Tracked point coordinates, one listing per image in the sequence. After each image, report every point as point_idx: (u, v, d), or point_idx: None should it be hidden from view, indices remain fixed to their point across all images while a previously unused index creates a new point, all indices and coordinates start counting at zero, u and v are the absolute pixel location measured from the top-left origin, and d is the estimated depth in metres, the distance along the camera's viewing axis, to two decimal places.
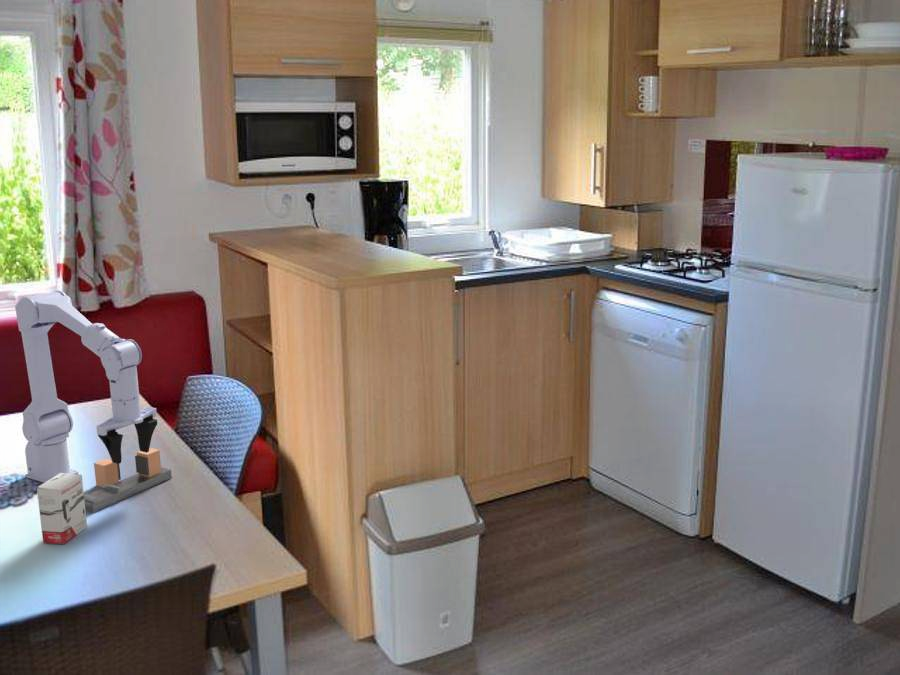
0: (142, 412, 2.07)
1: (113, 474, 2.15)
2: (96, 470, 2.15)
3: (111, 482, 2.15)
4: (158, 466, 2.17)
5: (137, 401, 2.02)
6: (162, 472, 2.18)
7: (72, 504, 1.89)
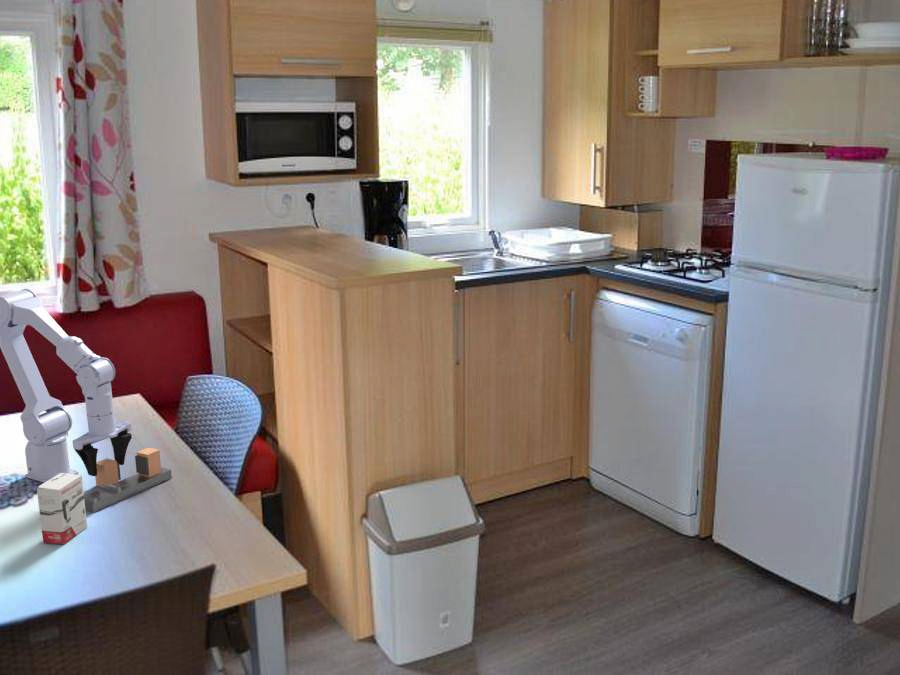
0: (117, 427, 2.17)
1: (113, 474, 2.15)
2: None
3: (111, 482, 2.15)
4: (158, 466, 2.17)
5: (111, 416, 2.12)
6: (162, 472, 2.18)
7: (72, 504, 1.89)
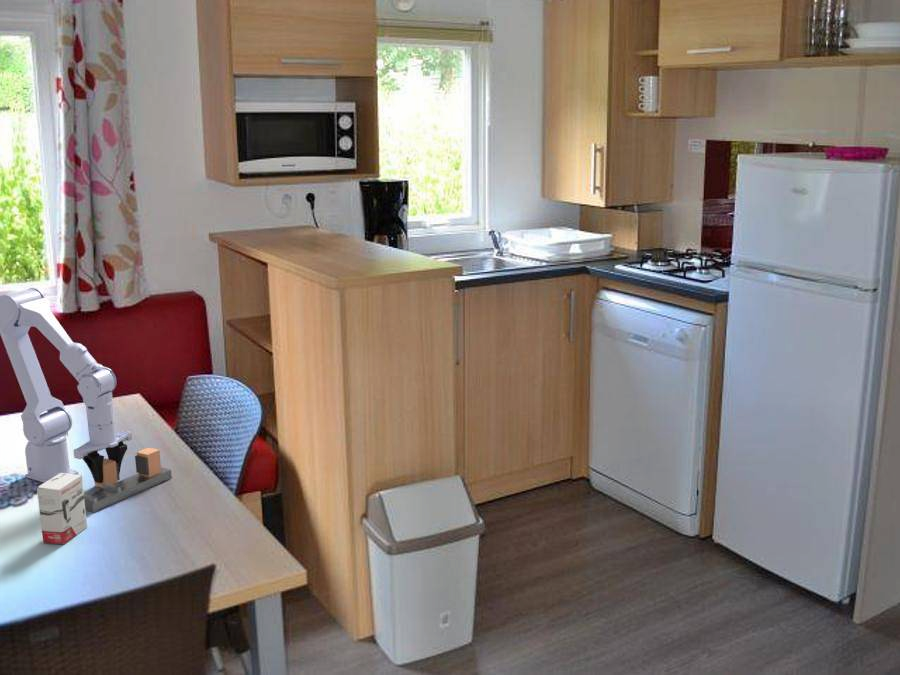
0: (118, 436, 2.17)
1: (112, 474, 2.15)
2: None
3: (110, 482, 2.15)
4: (158, 466, 2.17)
5: (112, 426, 2.12)
6: (162, 472, 2.18)
7: (72, 504, 1.89)
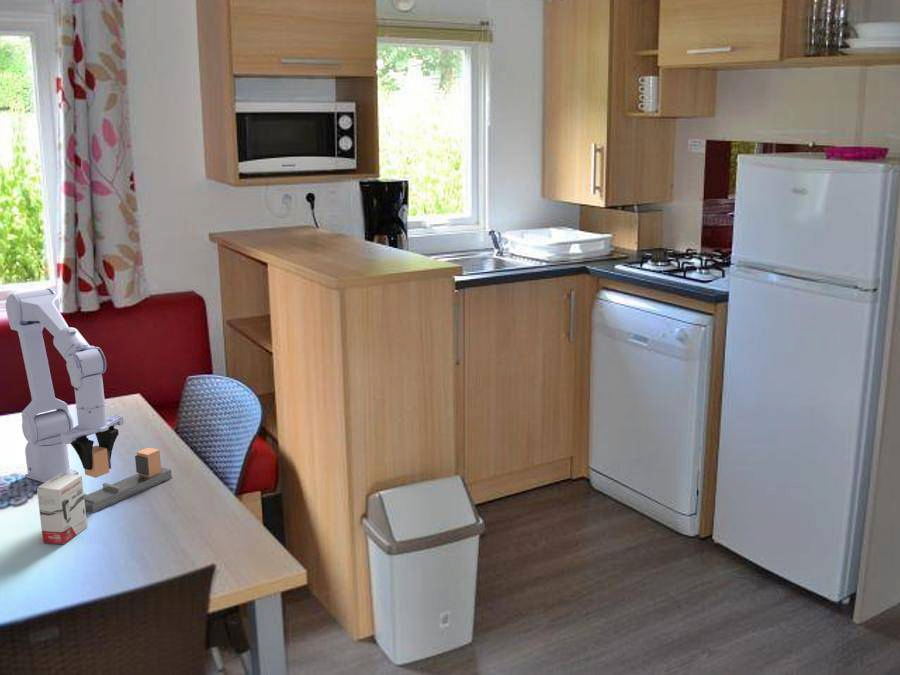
0: (108, 420, 2.05)
1: (103, 462, 2.03)
2: None
3: (101, 471, 2.03)
4: (158, 466, 2.17)
5: (102, 409, 2.00)
6: (162, 472, 2.18)
7: (72, 504, 1.89)
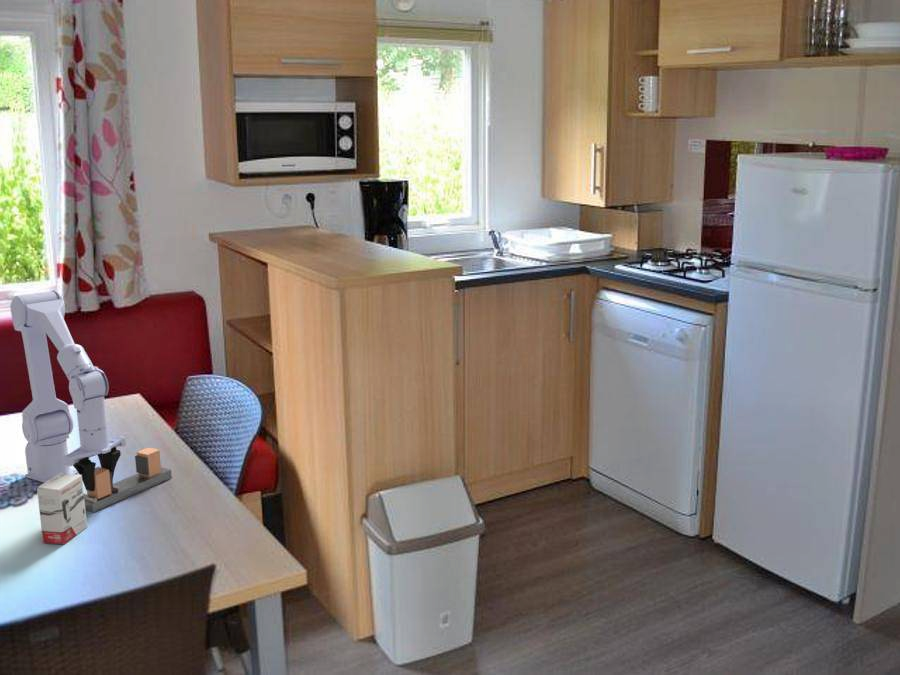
0: (110, 441, 2.06)
1: (105, 484, 2.04)
2: None
3: (103, 492, 2.04)
4: (158, 466, 2.17)
5: (105, 431, 2.01)
6: (162, 472, 2.18)
7: (72, 504, 1.89)
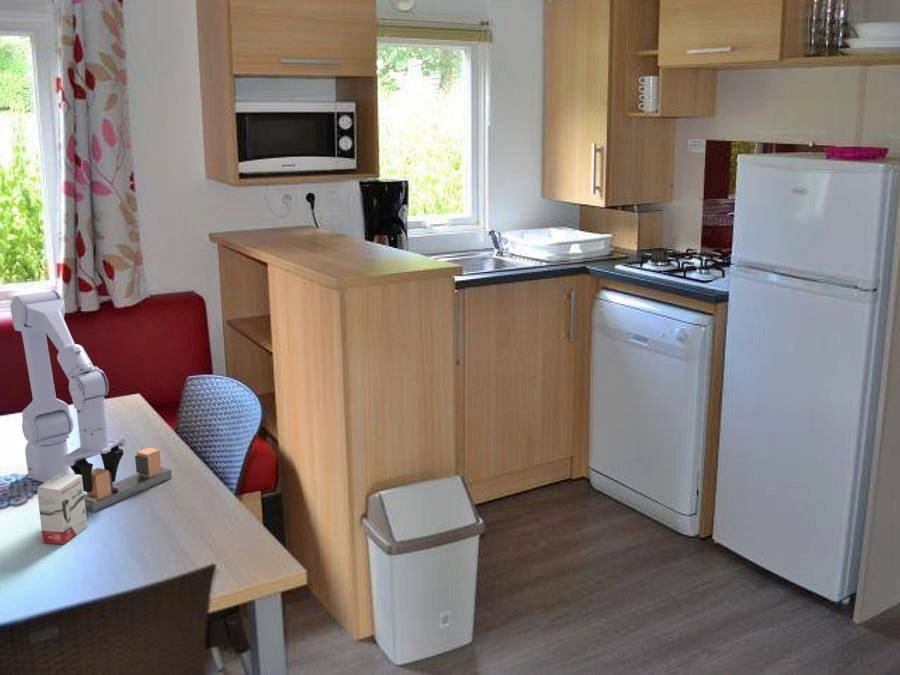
0: (110, 441, 2.06)
1: (105, 485, 2.04)
2: None
3: (103, 493, 2.04)
4: (158, 466, 2.17)
5: (105, 431, 2.01)
6: (162, 472, 2.18)
7: (72, 504, 1.89)
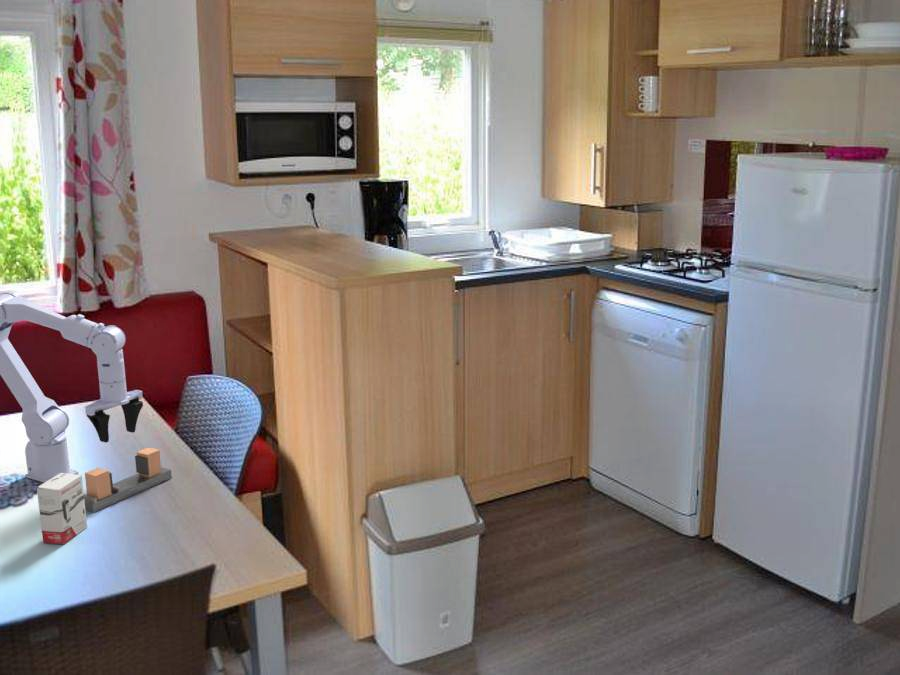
0: (128, 394, 2.20)
1: (105, 485, 2.04)
2: (87, 480, 2.03)
3: (103, 493, 2.04)
4: (158, 466, 2.17)
5: (123, 383, 2.15)
6: (162, 472, 2.18)
7: (72, 504, 1.89)
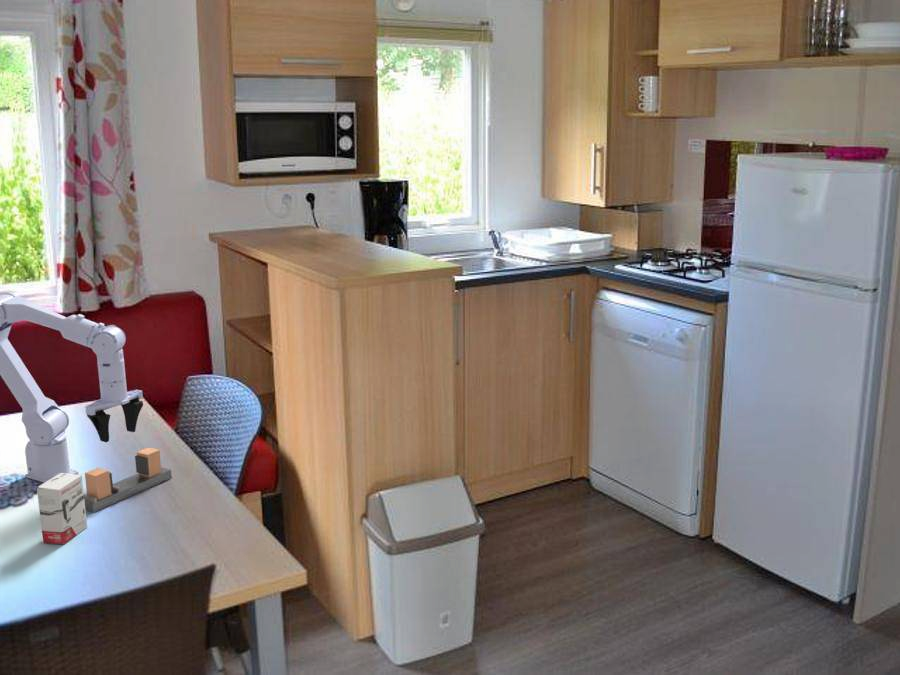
0: (129, 394, 2.20)
1: (105, 485, 2.04)
2: (87, 480, 2.03)
3: (103, 493, 2.04)
4: (158, 466, 2.17)
5: (124, 383, 2.15)
6: (162, 472, 2.18)
7: (72, 504, 1.89)
